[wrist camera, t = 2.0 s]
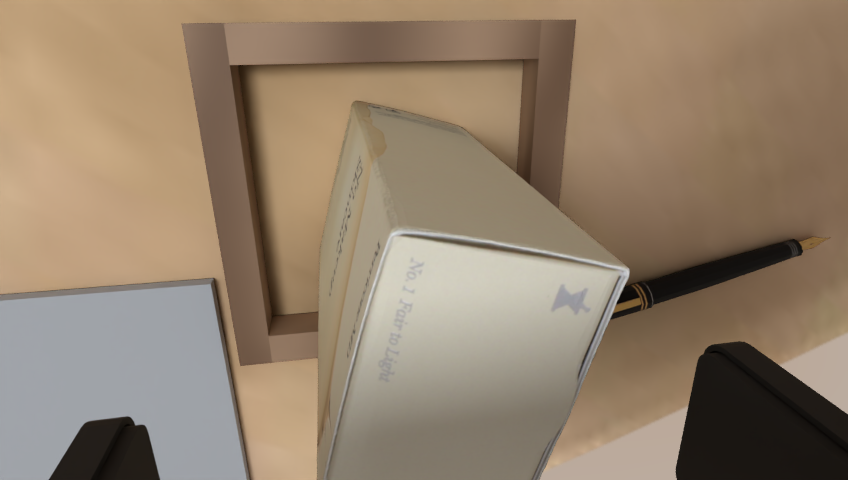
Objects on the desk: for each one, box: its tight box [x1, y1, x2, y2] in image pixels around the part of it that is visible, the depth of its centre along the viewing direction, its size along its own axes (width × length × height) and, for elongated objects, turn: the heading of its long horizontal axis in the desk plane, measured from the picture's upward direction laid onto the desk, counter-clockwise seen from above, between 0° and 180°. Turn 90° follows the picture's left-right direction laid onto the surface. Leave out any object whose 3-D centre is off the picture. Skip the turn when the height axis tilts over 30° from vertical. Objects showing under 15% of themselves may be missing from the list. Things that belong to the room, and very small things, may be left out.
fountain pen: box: [610, 237, 831, 320], centre depth 24 cm, size 14×1×2 cm, turn 104°
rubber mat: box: [0, 278, 250, 480], centre depth 22 cm, size 12×12×1 cm
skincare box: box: [317, 101, 630, 480], centre depth 15 cm, size 6×4×12 cm
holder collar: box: [182, 20, 576, 366], centre depth 20 cm, size 12×12×2 cm
